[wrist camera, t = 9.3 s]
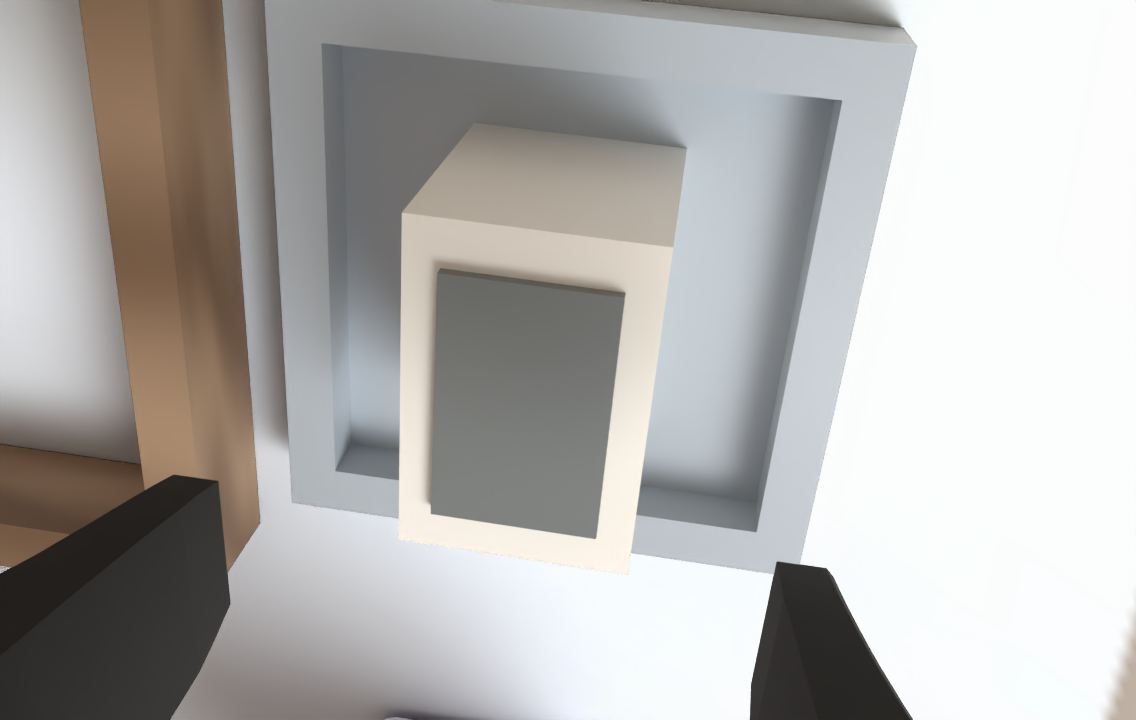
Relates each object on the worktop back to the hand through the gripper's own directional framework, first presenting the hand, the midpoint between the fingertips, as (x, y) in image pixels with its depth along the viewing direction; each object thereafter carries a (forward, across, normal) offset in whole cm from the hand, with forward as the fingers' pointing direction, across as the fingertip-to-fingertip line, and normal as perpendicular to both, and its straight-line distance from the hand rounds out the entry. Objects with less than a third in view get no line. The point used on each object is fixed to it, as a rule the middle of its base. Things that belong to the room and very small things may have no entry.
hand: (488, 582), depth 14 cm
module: (+9, 0, 0) cm, 9 cm away
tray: (+9, 0, 0) cm, 9 cm away
